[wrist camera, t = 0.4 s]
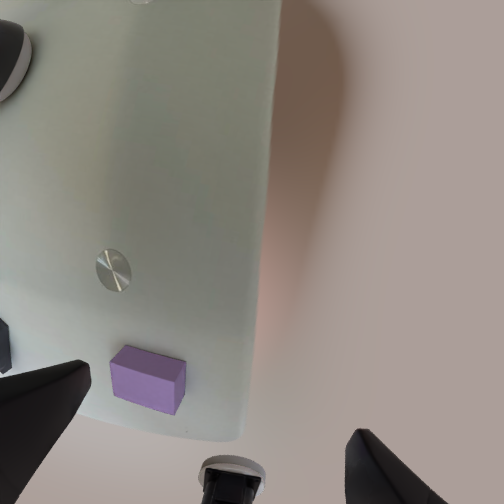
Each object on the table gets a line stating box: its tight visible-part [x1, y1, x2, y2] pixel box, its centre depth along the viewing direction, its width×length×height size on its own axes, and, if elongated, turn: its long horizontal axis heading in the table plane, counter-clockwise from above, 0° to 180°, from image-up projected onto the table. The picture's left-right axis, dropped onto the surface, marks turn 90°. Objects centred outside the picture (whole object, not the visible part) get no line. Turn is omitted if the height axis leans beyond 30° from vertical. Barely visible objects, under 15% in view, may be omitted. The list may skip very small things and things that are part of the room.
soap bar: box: [110, 345, 186, 415], centre depth 23 cm, size 6×4×3 cm, turn 81°
